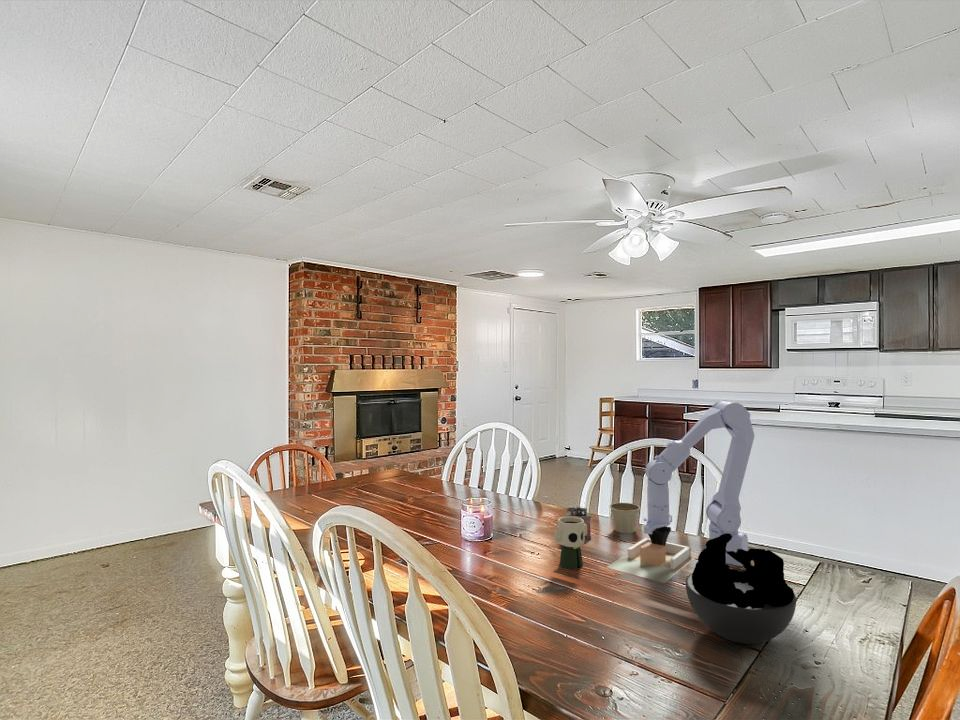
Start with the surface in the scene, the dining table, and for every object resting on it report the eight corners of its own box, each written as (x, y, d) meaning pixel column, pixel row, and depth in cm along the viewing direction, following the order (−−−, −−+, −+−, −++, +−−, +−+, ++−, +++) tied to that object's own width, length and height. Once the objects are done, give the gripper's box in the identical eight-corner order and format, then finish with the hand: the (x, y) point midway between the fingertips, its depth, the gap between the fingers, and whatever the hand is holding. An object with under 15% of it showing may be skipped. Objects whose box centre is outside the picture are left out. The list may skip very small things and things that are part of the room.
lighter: (590, 537, 171) (590, 505, 171) (591, 540, 167) (591, 508, 167) (564, 536, 171) (564, 505, 171) (565, 540, 168) (564, 508, 168)
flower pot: (633, 540, 167) (633, 512, 167) (605, 534, 173) (604, 507, 173) (644, 532, 175) (644, 505, 175) (617, 527, 181) (616, 501, 181)
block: (665, 560, 147) (665, 546, 147) (658, 566, 143) (658, 551, 143) (648, 556, 150) (647, 542, 150) (640, 561, 147) (640, 547, 147)
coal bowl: (796, 677, 95) (794, 570, 95) (676, 647, 105) (675, 550, 105) (798, 628, 112) (796, 537, 112) (695, 606, 122) (694, 523, 122)
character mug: (563, 577, 140) (563, 526, 140) (547, 568, 146) (546, 519, 146) (595, 568, 145) (595, 520, 145) (578, 560, 151) (577, 513, 151)
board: (696, 561, 149) (696, 557, 149) (664, 587, 133) (664, 582, 133) (641, 548, 160) (641, 545, 160) (605, 571, 143) (605, 567, 143)
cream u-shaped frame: (690, 556, 150) (690, 547, 150) (674, 569, 141) (674, 559, 141) (646, 546, 159) (645, 537, 159) (627, 557, 150) (627, 548, 150)
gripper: (655, 497, 158) (655, 543, 158) (633, 507, 147) (633, 557, 147) (679, 500, 153) (679, 548, 153) (658, 512, 143) (658, 563, 143)
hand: (658, 553), depth 150 cm, fingers closed
